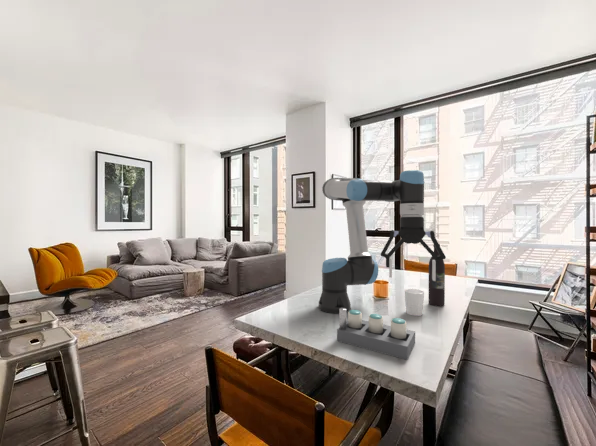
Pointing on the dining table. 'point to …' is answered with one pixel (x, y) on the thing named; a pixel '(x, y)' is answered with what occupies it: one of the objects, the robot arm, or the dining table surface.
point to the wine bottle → (437, 283)
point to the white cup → (414, 302)
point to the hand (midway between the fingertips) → (411, 278)
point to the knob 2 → (398, 328)
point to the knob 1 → (354, 319)
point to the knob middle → (375, 323)
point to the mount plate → (378, 340)
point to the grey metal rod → (342, 318)
